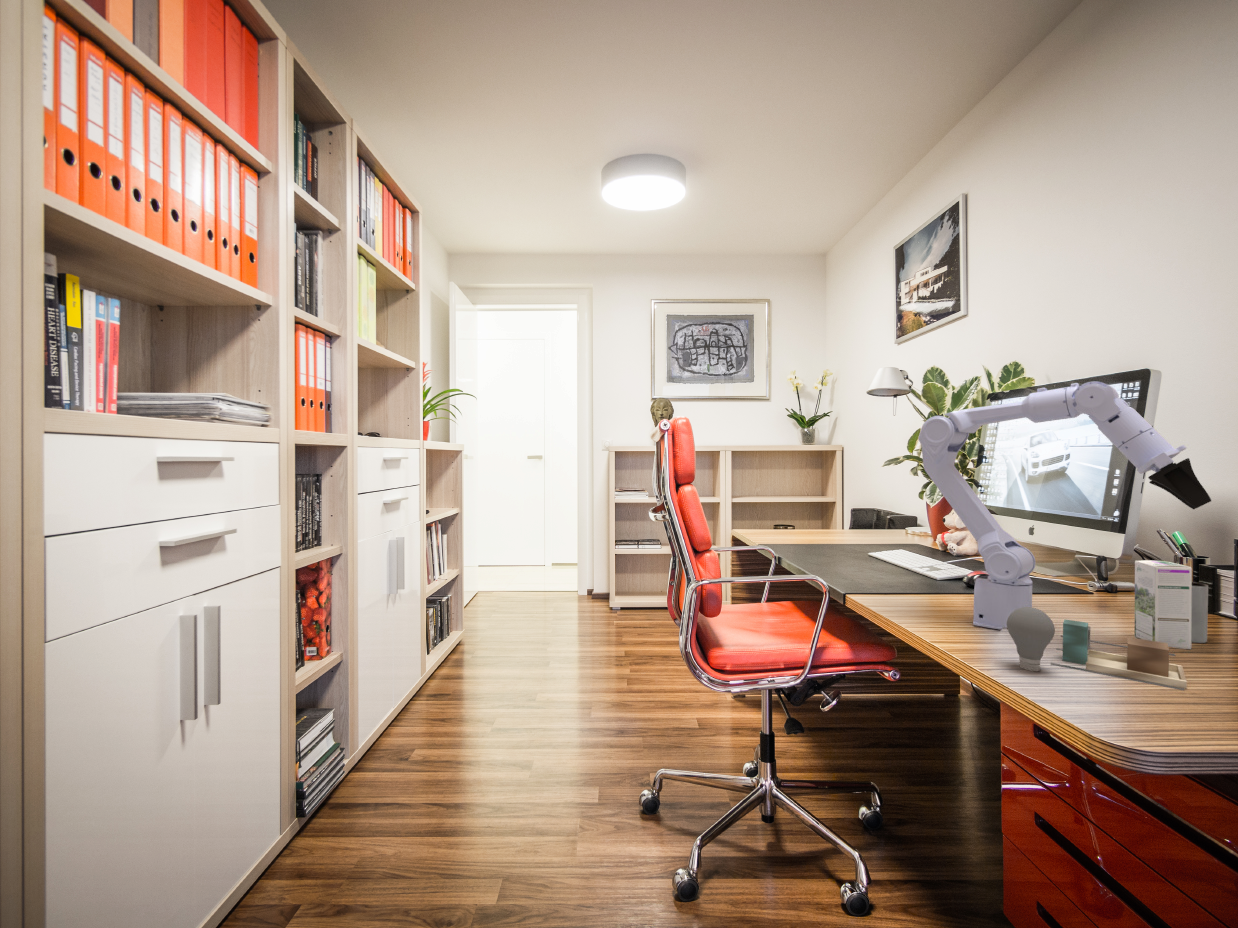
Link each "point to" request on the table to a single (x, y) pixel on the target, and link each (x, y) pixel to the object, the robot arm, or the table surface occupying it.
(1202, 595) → the grey cylinder
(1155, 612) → the syrup box
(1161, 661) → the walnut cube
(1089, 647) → the cream flat panel
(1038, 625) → the light bulb
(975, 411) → the robot arm
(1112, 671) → the cream sliding tray
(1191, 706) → the table surface
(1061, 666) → the lane rails
